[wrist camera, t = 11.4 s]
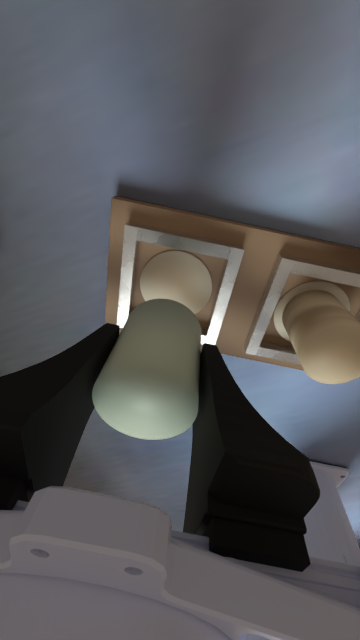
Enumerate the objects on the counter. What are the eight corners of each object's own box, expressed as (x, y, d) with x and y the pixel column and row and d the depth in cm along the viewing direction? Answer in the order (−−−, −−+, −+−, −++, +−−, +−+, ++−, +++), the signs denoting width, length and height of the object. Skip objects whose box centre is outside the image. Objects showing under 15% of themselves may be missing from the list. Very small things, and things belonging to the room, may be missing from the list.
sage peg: (192, 368, 16) (186, 447, 11) (123, 354, 16) (91, 428, 11) (209, 307, 14) (209, 376, 9) (129, 291, 14) (93, 352, 9)
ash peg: (324, 343, 21) (354, 390, 17) (273, 331, 21) (290, 375, 17) (351, 297, 19) (393, 336, 15) (295, 283, 19) (321, 319, 15)
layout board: (339, 370, 24) (349, 387, 22) (108, 323, 23) (100, 336, 22) (409, 258, 19) (430, 269, 17) (116, 196, 18) (106, 200, 16)
